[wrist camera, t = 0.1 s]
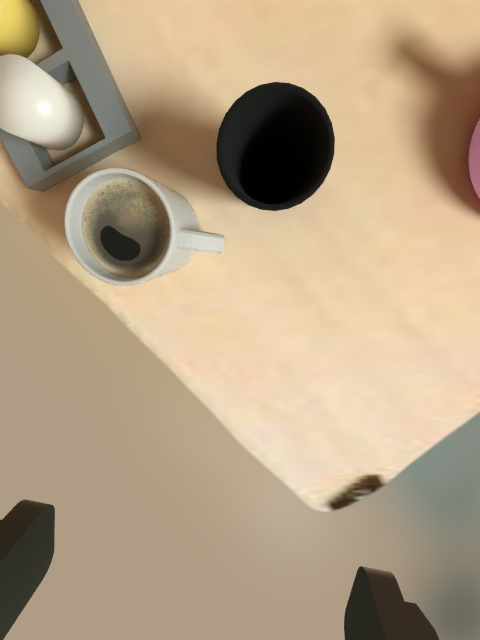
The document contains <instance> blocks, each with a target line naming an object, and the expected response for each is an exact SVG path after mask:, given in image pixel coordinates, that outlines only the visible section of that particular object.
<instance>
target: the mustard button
mask: <svg viewBox="0 0 480 640" xmlns="http://www.w3.org/2000/svg"><path fill="white" fill-rule="evenodd" d="M39 34H40V26H39V19H38V16H37V13H36V10H35V8H34V6H33V5H32V3H31V2H30V0H0V56H3V55H7V54H15V55H19V56H23V57H25V58H27V57H29V56H30V55H31V54H32V52H33V51H34V50H35V48H36V46H37V43H38V40H39Z"/></svg>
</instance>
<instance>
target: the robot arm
mask: <svg viewBox="0 0 480 640" xmlns="http://www.w3.org/2000/svg"><path fill="white" fill-rule="evenodd" d="M54 520H55V509H54V506H53V505H50V504H45V503H40V502H35V501H29V500H22V501H20V502H19V503H18V504H17V505H16V506H15V507H14V508H13V509H12V510H11V511H10V512H9V513H8V514H7V515H6V516H5V517H4V518H3V520H0V640H3V639H4V638H5V636H6V634H7V633H8V631H9V630H10V628H11V627H12V625H13V624H14V622H15V621H16V619H17V618H18V616H19V615H20V613H21V612H22V610H23V609H24V607H25V606H26V604H27V603H28V601H29V600H30V598H31V597H32V595H33V593H34V592H35V590H36V589H37V587H38V586H39V584H40V583H41V581H42V580H43V578H44V576H45V575H46V573H47V571H48V569H49V566H50V564H51V561H52V557H53V553H54V525H55V524H54V522H55V521H54ZM344 631H345V640H439V638H438V636H437V633H436V631H435V629H434V628H433V627H432V625H431V624H430V622H429V621H428V620H427V618H426V617H425V616H424V614H423V613H422V611H421V610H420V609H419V607H418V606H417V605H416V604H415V603H410V602H405V601H404V599H403V596H402V594H401V591H400V589H399V586H398V583H397V581H396V578H395V576H394V575H393V574H392V573H391V572H387V571H382V570H377V569H372V568H367V567H362V566H361V567H359V569H358V571H357V574H356V577H355V580H354V584H353V587H352V590H351V593H350V597H349V600H348V603H347V607H346V610H345V619H344Z"/></svg>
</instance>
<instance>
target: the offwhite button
mask: <svg viewBox="0 0 480 640" xmlns="http://www.w3.org/2000/svg"><path fill="white" fill-rule="evenodd" d="M83 122H84V118H83V111H82V108H81V105H80V103H79V101H78V99H77V98H76V96H75V95H74V94H73V93H72V92H71V91H70V90H69V89H68V88H66V87H65V86H64V85H62V84H61V83H60V82H58V81H57V80H56V79H54V78H53V77H52V76H50V75H49V74H47V73H46V72H45V71H43V70H42V69H41V68H39V67H38V66H37V65H35V64H34V63H33V62H31V61H30V60H28V59H27V58H25V57H23V56H19V55H15V54H7V55H3V56H0V128H1V129H3V130H4V131H6V132H8V133H11V134H13V135H16V136H18V137H21V138H23V139H26V140H28V141H31V142H33V143H36V144H38V145H41V146H43V147H46V148H48V149H51V150H64V149H67V148H69V147H71V146H72V145H73V144H74V143H76V141H77V140H78V139H79V137H80V135H81V133H82V129H83Z"/></svg>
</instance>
